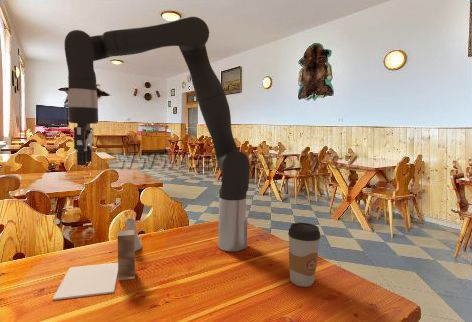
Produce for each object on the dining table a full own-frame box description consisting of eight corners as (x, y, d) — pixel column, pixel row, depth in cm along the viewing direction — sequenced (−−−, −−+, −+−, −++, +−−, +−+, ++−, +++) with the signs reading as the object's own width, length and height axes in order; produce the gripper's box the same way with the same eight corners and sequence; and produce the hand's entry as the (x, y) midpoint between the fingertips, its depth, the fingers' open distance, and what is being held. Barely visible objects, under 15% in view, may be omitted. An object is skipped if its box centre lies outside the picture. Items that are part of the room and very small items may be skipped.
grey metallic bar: (135, 271, 83) (134, 229, 81) (134, 278, 79) (133, 234, 78) (119, 273, 81) (118, 230, 80) (118, 280, 78) (117, 236, 76)
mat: (119, 263, 87) (119, 262, 87) (113, 292, 72) (113, 291, 72) (70, 268, 83) (70, 267, 83) (52, 300, 68) (52, 298, 68)
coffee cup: (299, 292, 74) (302, 234, 73) (279, 277, 81) (282, 224, 80) (324, 285, 78) (327, 229, 76) (303, 271, 85) (306, 220, 84)
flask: (145, 245, 101) (145, 216, 100) (136, 253, 94) (136, 223, 93) (125, 243, 102) (124, 215, 101) (114, 252, 95) (114, 222, 94)
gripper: (93, 105, 78) (95, 166, 80) (101, 108, 92) (102, 160, 94) (61, 104, 76) (64, 166, 78) (74, 107, 90) (75, 160, 91)
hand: (84, 163), depth 86 cm, fingers open, 8 cm apart
